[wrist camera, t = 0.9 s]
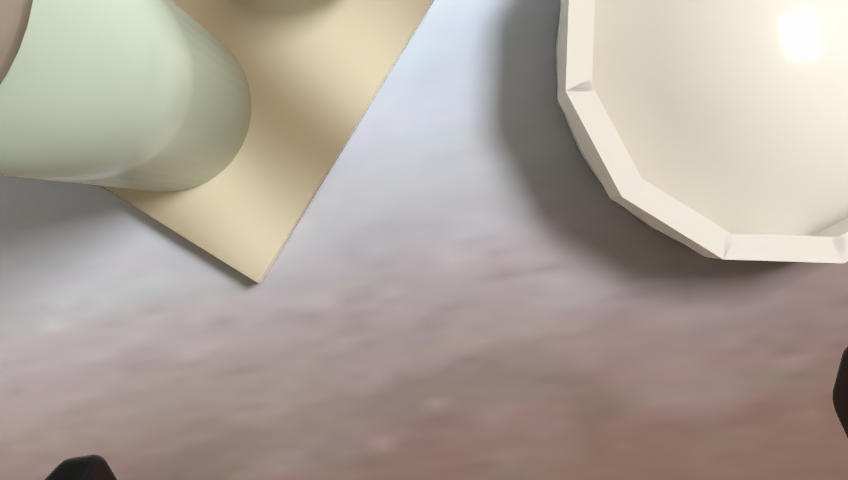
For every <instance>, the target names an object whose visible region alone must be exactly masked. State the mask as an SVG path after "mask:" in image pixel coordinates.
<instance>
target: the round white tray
mask: <svg viewBox="0 0 848 480" xmlns="http://www.w3.org/2000/svg"><path fill="white" fill-rule="evenodd" d="M556 71H557V80H558V90H557V100H558V102H559V104H560V106H561V108H562V110H563V112H564V113H565V117H566V120H567V123H568V127H569V129H570V131H571V133H572V135H573V138H574V140H575V142H576V144H577V147H578V149H579V151H580V153H581V154H582V156H583V157H584V159H585V161H586V162H587V164H588V165H589V167H590V169H591V170H592V172H593V173H594V175H595V176H596V177H597V178H598V180H599V181H600V182H601V183H602V185H603V187H604V188H605V190H606V192H607V194H608V196H609V198H610V199H612V200H613V201H615V202H617V203H618V204H620V205H621V206H623V207H625V208H626V209H627V210H628V211H629V212H630V213H632V214H633V215H635V216H636V217H637V218H639V219H640V220H642V221H643V222H644V223H646V224H647V225H649V226H650V227H651V228H653V229H655V230H657V231H659V232H661V233H663V234H665V235H666V236H668V237H670V238H672V239H674V240H676V241H679V242H681V243H683V244H685V245H686V246H688V247H689V248H691V249H693V250H694V251H696V252H697V253H699V254H701V255H702V256H704V257H709V258H716V259H724V260H755V261H787V262H819V263H845V262H847V261H848V0H561V4H560V17H559V21H558V31H557V41H556Z"/></svg>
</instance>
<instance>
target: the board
mask: <svg viewBox="0 0 848 480" xmlns="http://www.w3.org/2000/svg"><path fill="white" fill-rule="evenodd" d="M172 1H173V2H174V3H175V4H177V5H178V6H179V7H180V8H181V9H183V10H184V11H185V12H186V13H187V14H189V15H190V16H191V17H192V18H194V19H195V20H196V21H197V22H198V23H200V24H201V25H202V26H203V27H204V28H206V29H207V30H208V31H209V32H211V33H212V34H213V35H214V36H215V37H217V38H218V39H219V40H220V41H221V42H222V43H223V44H224V45H226V46H227V47H228V48H229V50H230V51H231V52H232V53H233V55H234V56H235V57H236V59H237V60H238V62H239V64H240V65H241V67H242V69H243V71H244V74H245V76H246V79H247V82H248V85H249V90H250V96H251V119H250V124H249V129H248V132H247V135H246V138H245V141H244V143H243V145H242V147H241V149H240V151H239V152H238V154H237V155H236V157H235V158H234V159H233V161H232V162H231V163H230V164H229V165H228V166H227V167H226V168H225V169H224V170H223V171H222V172H221V173H220V174H218V175H217V176H216V177H214V178H213V179H211V180H210V181H208V182H206V183H204V184H202V185H200V186H197V187H194V188H191V189H188V190H183V191H177V192H158V191H148V190H138V189H129V188H119V187H109V186H102V187H104V188H105V189H107V190H108V191H110V192H112V193H113V194H115V195H117V196H118V197H120V198H121V199H123V200H125V201H126V202H128V203H129V204H131V205H133V206H134V207H136V208H138V209H139V210H141V211H142V212H144V213H146V214H147V215H149V216H150V217H152V218H154V219H155V220H157V221H159V222H160V223H162V224H163V225H165V226H167V227H168V228H170V229H171V230H173V231H175V232H176V233H178V234H179V235H181V236H183V237H184V238H186V239H188V240H189V241H191V242H192V243H194V244H196V245H197V246H199V247H200V248H202V249H204V250H205V251H207V252H209V253H210V254H212V255H213V256H215V257H217V258H218V259H220V260H221V261H223V262H225V263H226V264H228V265H230V266H231V267H233V268H234V269H236V270H238V271H239V272H241V273H242V274H244V275H246V276H247V277H249V278H251V279H252V280H254V281H255V282H257V283H261V282H262V281H263V279H264V277H265V276H266V274H267V273H268V271H269V269H270V268H271V266H272V264H273V263H274V261H275V259H276V258H277V256H278V255H279V253H280V251H281V250H282V248H283V246H284V245H285V243H286V241H287V240H288V238H289V237H290V235H291V233H292V232H293V230H294V228H295V227H296V225H297V223H298V222H299V220H300V219H301V217H302V215H303V214H304V212H305V210H306V209H307V207H308V205H309V204H310V202H311V201H312V199H313V197H314V196H315V194H316V192H317V191H318V189H319V188H320V186H321V184H322V183H323V181H324V179H325V178H326V176H327V174H328V173H329V171H330V170H331V168H332V166H333V165H334V163H335V161H336V160H337V158H338V156H339V155H340V153H341V152H342V150H343V148H344V147H345V145H346V143H347V142H348V140H349V138H350V137H351V135H352V134H353V132H354V130H355V129H356V127H357V125H358V124H359V122H360V120H361V119H362V117H363V116H364V114H365V112H366V111H367V109H368V107H369V106H370V104H371V103H372V101H373V99H374V98H375V96H376V94H377V93H378V91H379V89H380V88H381V86H382V85H383V83H384V81H385V80H386V78H387V76H388V75H389V73H390V71H391V70H392V68H393V67H394V65H395V63H396V62H397V60H398V58H399V57H400V55H401V53H402V52H403V50H404V49H405V47H406V45H407V44H408V42H409V40H410V39H411V37H412V35H413V34H414V32H415V31H416V29H417V27H418V26H419V24H420V22H421V21H422V19H423V18H424V16H425V14H426V13H427V11H428V9H429V8H430V6H431V4H432V3H433V1H434V0H172Z"/></svg>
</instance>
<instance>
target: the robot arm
mask: <svg viewBox="0 0 848 480" xmlns="http://www.w3.org/2000/svg"><path fill="white" fill-rule="evenodd" d="M833 403H834V407H835V410H836V413H837V415H838V418H839V420H840V422H841V424H842V426H843V429H844V431H845V433H846V435H847V437H848V347H847V348H846V349H845V350H844V352H843V355H842V358H841V362H840V366H839V370H838V374H837V377H836V381H835V385H834V389H833ZM45 480H117V479H116V477H115V476H114V474H113V472H112V471H111V469H110V467H109V465H108V464H107V462H106V461H105V459H104V458H103V457H101V456H99V455H88V456H81V457H74V458H69V459H67V460H64V461H63V462H62V463H60V464H59V465H58V466H57V467H56V468H55V469H54V470H53V471H52V473H51V474H50V475H49V476H48V477H47V478H46V479H45Z"/></svg>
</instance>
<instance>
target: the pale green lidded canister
mask: <svg viewBox="0 0 848 480" xmlns="http://www.w3.org/2000/svg"><path fill="white" fill-rule="evenodd" d="M250 119H251V96H250V90H249V85H248V82H247V79H246V76H245V74H244V71H243V69H242V67H241V65H240V64H239V62H238V60H237V59H236V57H235V56H234V55H233V53H232V52H231V51H230V50H229V48H228V47H227V46H226V45H224V44H223V43H222V42H221V41H220V40H219V39H218V38H217V37H215V36H214V35H213V34H212V33H211V32H209V31H208V30H207V29H206V28H204V27H203V26H202V25H201V24H200V23H198V22H197V21H196V20H195V19H194V18H192V17H191V16H190V15H189V14H187V13H186V12H185V11H184V10H183V9H181V8H180V7H179V6H178V5H177V4H175V3H174V2H173V1H172V0H0V175H2V176H12V177H22V178H31V179H41V180H51V181H60V182H70V183H80V184H90V185H99V186H109V187H119V188H129V189H138V190H148V191H158V192H177V191H183V190H188V189H191V188H194V187H197V186H200V185H202V184H204V183H206V182H208V181H210V180H211V179H213V178H214V177H216V176H217V175H218V174H220V173H221V172H222V171H223V170H224V169H225V168H226V167H227V166H228V165H229V164H230V163H231V162H232V161H233V159H234V158H235V157H236V155H237V154H238V152H239V151H240V149H241V147H242V145H243V143H244V141H245V138H246V135H247V132H248V129H249V124H250Z"/></svg>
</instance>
